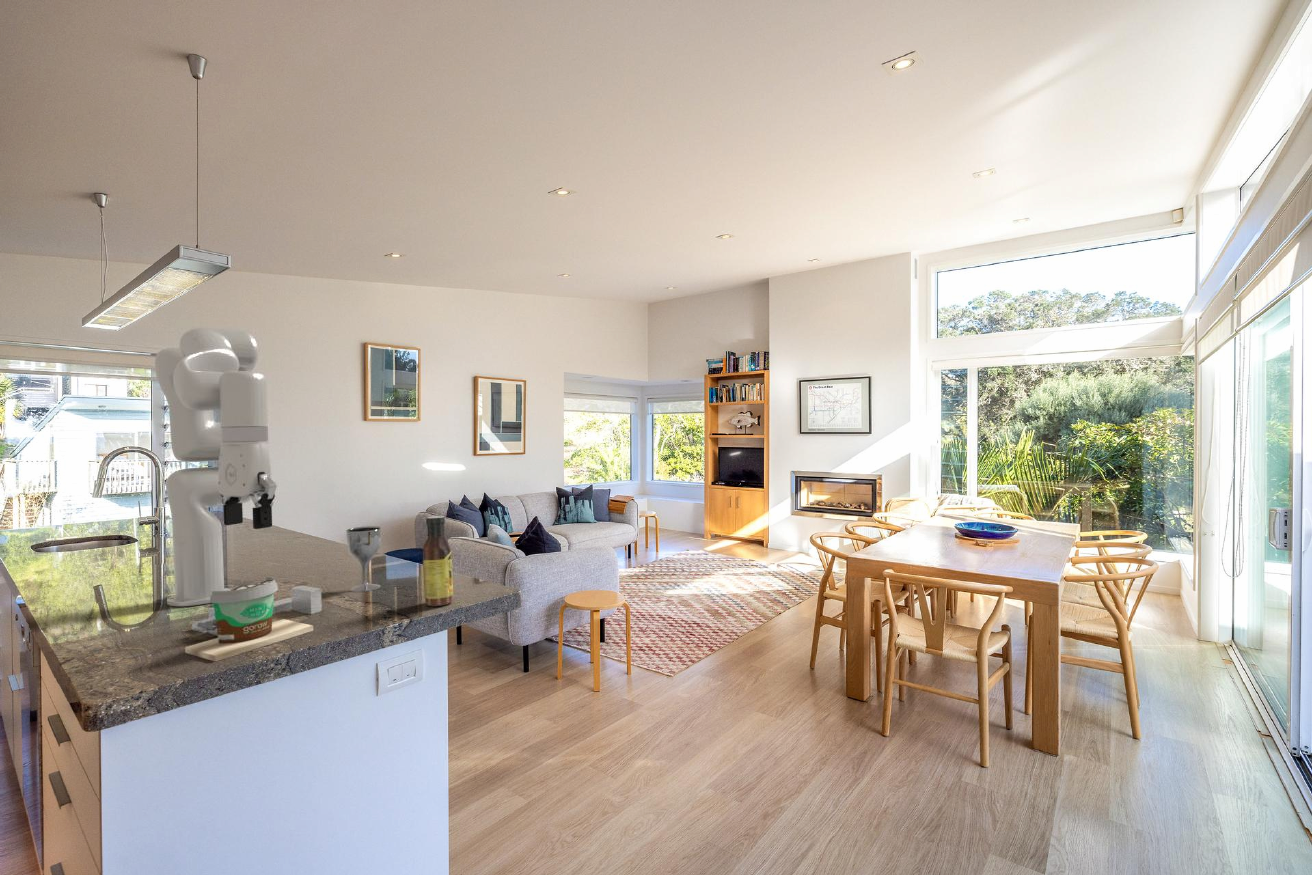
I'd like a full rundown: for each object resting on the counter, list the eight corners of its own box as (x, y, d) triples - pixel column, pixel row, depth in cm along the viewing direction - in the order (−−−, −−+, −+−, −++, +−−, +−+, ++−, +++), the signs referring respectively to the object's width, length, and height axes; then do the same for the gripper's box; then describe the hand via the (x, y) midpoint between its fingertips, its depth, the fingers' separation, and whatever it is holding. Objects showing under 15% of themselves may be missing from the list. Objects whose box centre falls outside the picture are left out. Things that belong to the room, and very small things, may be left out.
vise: (180, 633, 126) (179, 608, 125) (289, 603, 145) (288, 582, 145) (214, 642, 120) (213, 616, 120) (323, 610, 139) (322, 588, 139)
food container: (236, 648, 113) (234, 593, 113) (211, 645, 115) (209, 591, 115) (294, 627, 125) (292, 577, 124) (270, 624, 127) (268, 575, 126)
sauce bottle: (456, 604, 142) (454, 517, 142) (428, 609, 139) (426, 519, 138) (448, 597, 148) (446, 513, 147) (421, 602, 144) (418, 516, 144)
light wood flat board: (185, 652, 114) (185, 647, 114) (283, 623, 130) (283, 618, 130) (215, 661, 110) (215, 655, 110) (313, 630, 126) (313, 625, 126)
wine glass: (341, 591, 155) (339, 531, 154) (361, 583, 163) (359, 526, 162) (370, 592, 154) (368, 531, 153) (389, 584, 161) (387, 526, 161)
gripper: (198, 436, 120) (201, 525, 120) (250, 437, 112) (253, 532, 112) (240, 435, 126) (242, 519, 127) (291, 436, 118) (294, 526, 119)
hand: (247, 525), depth 120 cm, fingers open, 9 cm apart
